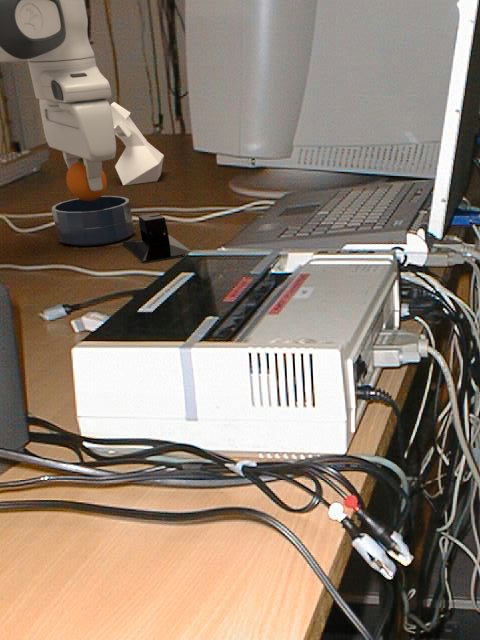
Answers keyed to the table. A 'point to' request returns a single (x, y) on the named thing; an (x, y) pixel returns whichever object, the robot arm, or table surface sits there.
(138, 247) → the black winged block
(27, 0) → the robot arm
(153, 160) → the white angular stand
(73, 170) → the toy tangerine
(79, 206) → the bowl
